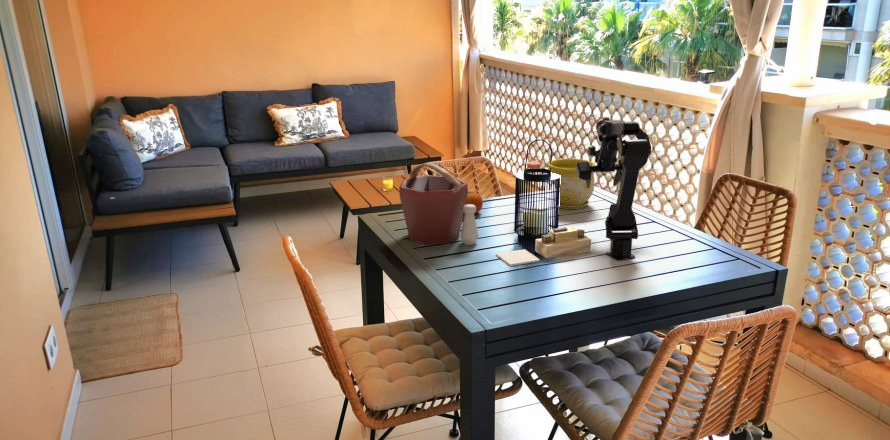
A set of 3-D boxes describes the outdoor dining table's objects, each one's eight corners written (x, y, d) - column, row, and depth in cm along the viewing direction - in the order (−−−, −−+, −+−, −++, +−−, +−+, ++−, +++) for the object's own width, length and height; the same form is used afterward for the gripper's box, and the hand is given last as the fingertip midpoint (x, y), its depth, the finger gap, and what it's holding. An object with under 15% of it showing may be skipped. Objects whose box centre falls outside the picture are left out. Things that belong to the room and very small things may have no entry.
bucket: (476, 243, 229) (476, 169, 221) (413, 252, 221) (411, 176, 213) (449, 222, 250) (448, 154, 243) (390, 230, 243) (387, 160, 235)
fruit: (468, 219, 254) (468, 198, 251) (449, 213, 261) (448, 192, 259) (488, 213, 261) (488, 192, 258) (469, 207, 268) (469, 187, 266)
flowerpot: (597, 211, 260) (599, 168, 256) (549, 211, 261) (550, 169, 256) (589, 198, 278) (591, 158, 273) (543, 198, 278) (545, 158, 273)
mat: (539, 261, 212) (539, 259, 212) (510, 266, 209) (510, 264, 208) (524, 250, 221) (524, 249, 221) (496, 255, 217) (496, 253, 217)
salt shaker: (476, 246, 226) (476, 208, 222) (459, 245, 227) (459, 207, 223) (479, 240, 231) (479, 203, 227) (462, 239, 232) (462, 202, 228)
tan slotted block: (577, 239, 219) (578, 228, 217) (555, 242, 216) (555, 231, 215) (570, 235, 222) (571, 224, 221) (548, 239, 219) (549, 227, 218)
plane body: (590, 251, 220) (591, 233, 218) (545, 258, 214) (546, 239, 213) (578, 244, 226) (579, 226, 224) (535, 251, 221) (535, 233, 219)
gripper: (629, 134, 234) (621, 168, 245) (574, 138, 233) (569, 172, 244) (638, 156, 227) (629, 190, 238) (582, 160, 225) (576, 194, 237)
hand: (600, 186), depth 239 cm, fingers open, 9 cm apart
